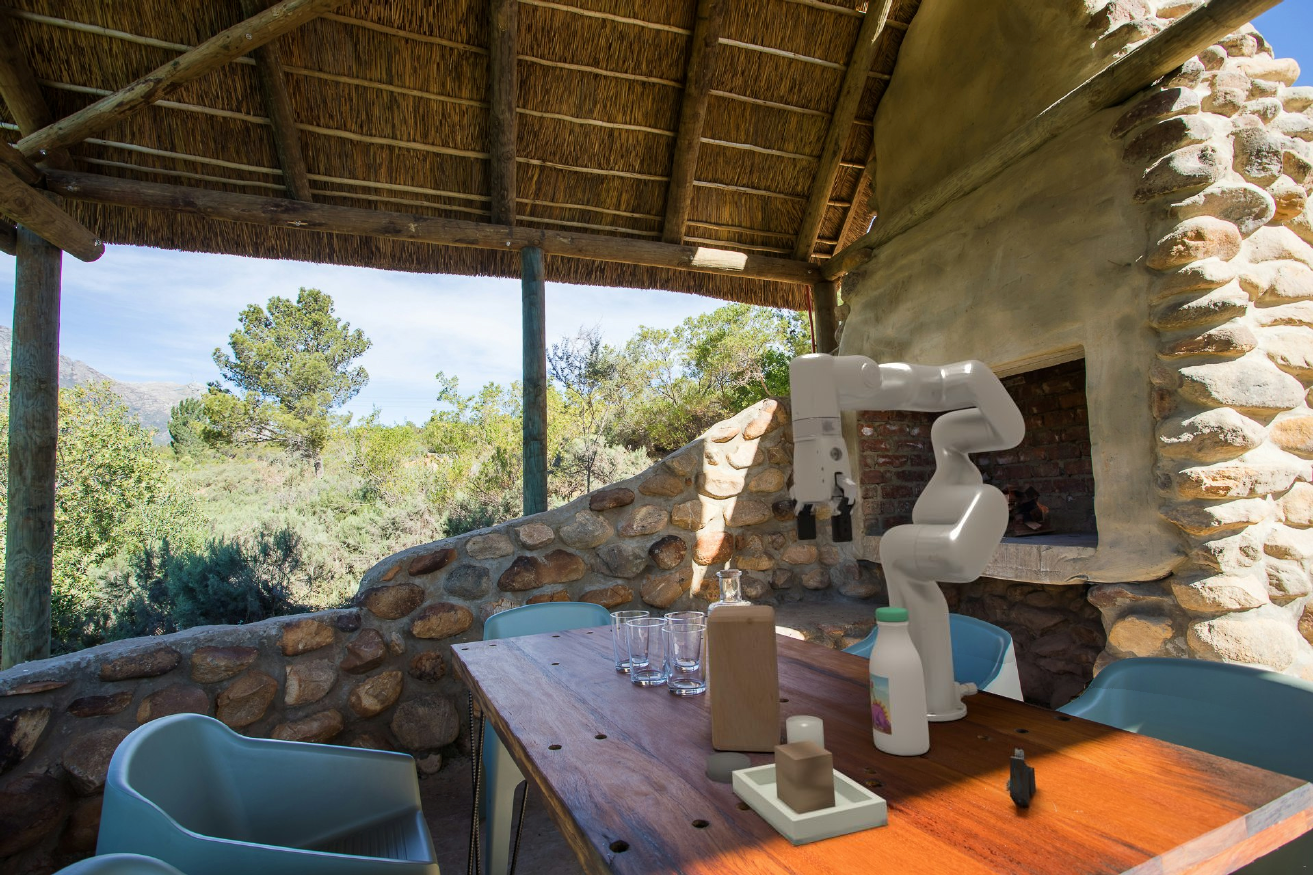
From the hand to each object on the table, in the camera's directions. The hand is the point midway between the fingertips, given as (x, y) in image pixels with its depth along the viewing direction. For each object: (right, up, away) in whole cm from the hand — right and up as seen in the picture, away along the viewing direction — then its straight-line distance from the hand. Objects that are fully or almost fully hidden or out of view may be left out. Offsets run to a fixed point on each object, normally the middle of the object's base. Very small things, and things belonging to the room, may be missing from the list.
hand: (824, 540), depth 105 cm
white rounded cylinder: (-5, -30, -12) cm, 32 cm away
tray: (-8, -28, -24) cm, 38 cm away
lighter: (+17, -27, -25) cm, 41 cm away
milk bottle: (+10, -30, -6) cm, 32 cm away
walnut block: (-8, -28, -24) cm, 38 cm away
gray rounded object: (-16, -30, -13) cm, 37 cm away
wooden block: (-12, -31, -1) cm, 33 cm away
